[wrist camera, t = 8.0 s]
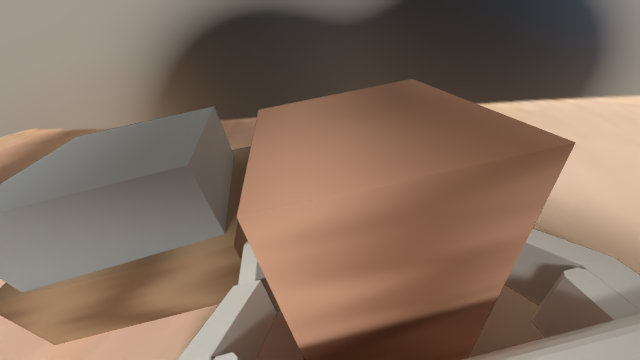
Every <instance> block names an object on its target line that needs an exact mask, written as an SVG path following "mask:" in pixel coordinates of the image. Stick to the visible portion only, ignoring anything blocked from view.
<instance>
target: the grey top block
mask: <svg viewBox="0 0 640 360" xmlns="http://www.w3.org/2000/svg"><path fill="white" fill-rule="evenodd" d="M233 159H234V154H233V152H232V149H231V147H230V144H229V142H228V139H227V137H226V135H225V132H224V130H223V127H222V125H221V122H220V120H219V117H218V115H217V112H216V110H215V107H214V106H213V107H208V108H204V109H199V110H195V111H190V112H186V113H181V114H177V115H172V116H168V117H163V118H159V119H155V120H149V121H145V122H140V123H136V124H131V125H127V126H122V127H118V128H113V129H109V130H104V131H99V132H95V133H90V134H86V135H81V136H77V137H75V138H73V139H72V140H70V141H69V142H67V143H65V144H64V145H62V146H60V147H59V148H57V149H56V150H54V151H52V152H51V153H49V154H48V155H46V156H44V157H43V158H41V159H39V160H38V161H36V162H35V163H33V164H31V165H30V166H28V167H27V168H25V169H23V170H22V171H20V172H18V173H17V174H15V175H14V176H12V177H10V178H9V179H7V180H5V181H4V182H2V183H1V184H0V279H2V280H3V281H5V282H6V283H8V284H9V285H11V286H12V287H14V288H16V289H17V290H19V291H20V292H22V293H23V292H26V291H29V290H33V289H36V288H40V287H43V286H47V285H50V284H54V283H57V282H61V281H64V280H68V279H71V278H74V277H78V276H81V275H85V274H88V273H92V272H95V271H99V270H102V269H106V268H109V267H113V266H116V265H120V264H123V263H126V262H130V261H133V260H137V259H140V258H144V257H147V256H151V255H154V254H158V253H161V252H165V251H168V250H172V249H175V248H178V247H182V246H185V245H189V244H192V243H196V242H199V241H203V240H206V239H210V238H213V237H217V236H220V235H224V234H225V230H226V221H227V212H228V203H229V195H230V186H231V177H232V168H233Z"/></svg>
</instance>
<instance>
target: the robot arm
mask: <svg viewBox="0 0 640 360" xmlns="http://www.w3.org/2000/svg"><path fill="white" fill-rule="evenodd" d="M505 285H506V286H508V287H510V288H511V289H513V290H515V291H516V292H518V293H519V294H521V295H523V296H524V297H526V298H527V299H529V300H531V301H532V302H534V303H536V304H537V305H539V307H538V308H537V310H536V311H535V312H534V314H533V315H532V320H531V321H532V322H533V324H534V325H535V326H536V327H537V328H538V329H539V331H540V332H541V333H542V334H543V335H544V336H545V338H543V339H539V340H535V341H531V342H527V343H523V344H520V345H516V346H512V347H508V348H504V349H500V350H496V351H493V352H489V353H485V354H481V355H477V356H473V357H469V358H466V359H462V360H640V275H639V274H638V273H636V272H635V271H633V270H632V269H630V268H629V267H627V266H626V265H624V264H623V263H621V262H620V261H619V260H617V259H616V258H614V257H611V256H609V255H606V254H603V253H600V252H597V251H595V250H592V249H589V248H586V247H583V246H580V245H578V244H575V243H572V242H569V241H566V240H563V239H561V238H558V237H555V236H552V235H549V234H547V233H544V232H541V231H538V230H535V229H532V231H531V233H530V235H529V237H528V239H527V241H526V243H525V245H524V247H523V249H522V251H521V252H520V254H519V256H518V258H517V260H516V262H515V264H514V266H513V268H512V270H511V272H510V274H509V276H508V278H507V280H506V282H505ZM280 310H281V309H280V307H279V305H278V303H277V301H276V299H275V297H274V295H273V292H272V290H271V288H270V286H269V284H268V282H267V280H266V278H265V276H264V274H263V271H262V269H261V267H260V265H259V263H258V261H257V259H256V257H255V255H254V253H253V250H252V248H251V246H250V244H249V242H246V243H245V245H244V247H243V254H242V261H241V268H240V274H239V281H238V285H235V286H233V287H232V288H231V290H230V291H229V292H228V294H227V295H226V296H225V298H224V299H223V300H222V302H221V303H220V304H219V306H218V307H217V308H216V310H215V311H214V312H213V314H212V315H211V316H210V318H209V319H208V320H207V321H206V323H205V324H204V325H203V327H202V328H201V329H200V331H199V332H198V333H197V335H196V336H195V337H194V339H193V340H192V341H191V343H190V344H189V345H188V347H187V348H186V349H185V351H184V352H183V353H182V354H181V356H180V357H179V358H178V360H256V358H257V356H258V354H259V351H260V349H261V347H262V345H263V343H264V341H265V338H266V336H267V334H268V332H269V330H270V327H271V325H272V323H273V321H274V319H275V317H276V314H277V311H280Z"/></svg>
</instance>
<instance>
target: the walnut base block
mask: <svg viewBox="0 0 640 360" xmlns="http://www.w3.org/2000/svg"><path fill="white" fill-rule="evenodd" d="M250 149H251V146H250V147H245V148H241V149H236V150H232V152H233V154H234V159H233V168H232V177H231V186H230V195H229V203H228V212H227V221H226V230H225V234H224V235H220V236H217V237H213V238H210V239H206V240H203V241H199V242H196V243H192V244H189V245H185V246H182V247H178V248H175V249H172V250H168V251H165V252H161V253H158V254H154V255H151V256H147V257H144V258H140V259H137V260H133V261H130V262H126V263H123V264H120V265H116V266H113V267H109V268H106V269H102V270H99V271H95V272H92V273H88V274H85V275H81V276H78V277H74V278H71V279H68V280H64V281H61V282H57V283H54V284H50V285H47V286H43V287H40V288H36V289H33V290H29V291H26V292H23V293H22V292H20V291H19V290H17V289H16V288H14V287H12V286H11V285H9V284H8V283H5V284H4V285H3V286H2V287H1V288H0V315H1V316H3V317H4V318H6V319H8V320H10V321H12V322H14V323H15V324H17V325H19V326H21V327H23V328H25V329H26V330H28V331H30V332H32V333H34V334H35V335H37V336H39V337H41V338H43V339H45V340H46V341H48V342H50V343H52V344H54V345H57V344H61V343H65V342H69V341H73V340H77V339H81V338H85V337H89V336H93V335H97V334H101V333H105V332H109V331H113V330H117V329H121V328H125V327H129V326H133V325H137V324H141V323H145V322H149V321H153V320H157V319H161V318H165V317H169V316H173V315H177V314H181V313H185V312H189V311H193V310H197V309H201V308H205V307H209V306H213V305H217V304H220V303H221V302H222V300H223V299H224V298H225V296H226V295H227V294H228V292H229V291H230V290H231V288H232V287H233V286H235V285H238V281H239V274H240V268H241V261H242V254H243V247H244V245H245V243H246V242H248V240H247V238H246V236H245V234H244V232H243V229H242V227H241V225H240V223H239V221H238V219H237V213H238V208H239V203H240V198H241V193H242V188H243V183H244V179H245V174H246V169H247V164H248V159H249V154H250Z"/></svg>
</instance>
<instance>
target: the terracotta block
mask: <svg viewBox="0 0 640 360" xmlns="http://www.w3.org/2000/svg"><path fill="white" fill-rule="evenodd" d="M574 145H575V142H573V141H570V140H568V139H565V138H562V137H560V136H557V135H555V134H552V133H550V132H547V131H544V130H542V129H539V128H537V127H534V126H532V125H529V124H526V123H524V122H521V121H519V120H516V119H514V118H511V117H508V116H506V115H503V114H501V113H498V112H496V111H493V110H490V109H488V108H485V107H483V106H480V105H478V104H475V103H472V102H470V101H467V100H465V99H462V98H459V97H457V96H454V95H452V94H449V93H447V92H444V91H442V90H439V89H436V88H434V87H431V86H429V85H426V84H424V83H421V82H418V81H416V80H413V79H410V80H405V81H400V82H395V83H390V84H386V85H381V86H375V87H370V88H366V89H361V90H355V91H350V92H346V93H341V94H335V95H331V96H325V97H320V98H315V99H311V100H306V101H300V102H295V103H290V104H285V105H281V106H275V107H270V108H265V109H261V110H258V115H257V120H256V124H255V129H254V134H253V139H252V144H251V149H250V154H249V159H248V164H247V169H246V174H245V179H244V183H243V188H242V193H241V198H240V203H239V208H238V213H237V219H238V221H239V223H240V225H241V227H242V229H243V232H244V234H245V236H246V238H247V240H248V242H249V244H250V246H251V248H252V250H253V253H254V255H255V257H256V259H257V261H258V263H259V265H260V267H261V269H262V271H263V274H264V276H265V278H266V280H267V282H268V284H269V286H270V288H271V290H272V292H273V295H274V297H275V299H276V301H277V303H278V305H279V307H280V309H281V311H282V313H283V316H284V318H285V320H286V322H287V324H288V326H289V328H290V330H291V332H292V334H293V337H294V339H295V341H296V343H297V345H298V347H299V349H300V351H301V353H302V355H303V358H304V360H462V359H466V358H468V356H469V354H470V352H471V350H472V348H473V346H474V344H475V342H476V340H477V338H478V336H479V334H480V332H481V330H482V328H483V326H484V324H485V322H486V320H487V318H488V316H489V314H490V312H491V310H492V308H493V306H494V304H495V302H496V300H497V298H498V296H499V294H500V292H501V290H502V288H503V286H504V284H505V282H506V280H507V278H508V276H509V274H510V272H511V270H512V268H513V266H514V264H515V262H516V260H517V258H518V256H519V254H520V252H521V251H522V249H523V247H524V245H525V243H526V241H527V239H528V237H529V235H530V233H531V231H532V229H533V227H534V225H535V223H536V221H537V219H538V217H539V215H540V213H541V211H542V209H543V207H544V205H545V203H546V201H547V199H548V197H549V195H550V193H551V191H552V189H553V187H554V185H555V183H556V181H557V179H558V177H559V175H560V173H561V171H562V169H563V167H564V165H565V163H566V161H567V159H568V157H569V155H570V153H571V151H572V149H573V147H574Z"/></svg>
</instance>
